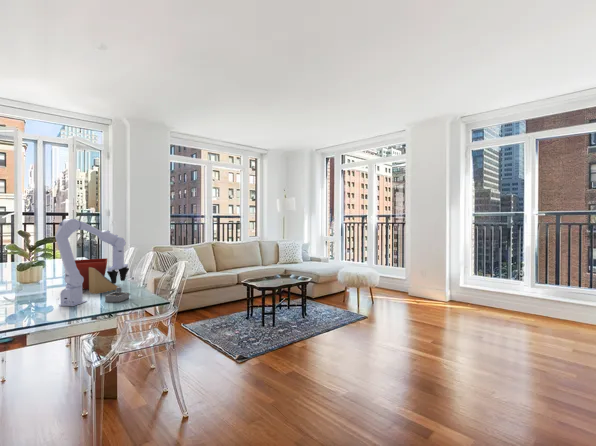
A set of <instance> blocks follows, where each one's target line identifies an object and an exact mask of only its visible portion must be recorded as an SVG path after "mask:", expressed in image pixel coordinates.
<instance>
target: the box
mask: <svg viewBox="0 0 596 446" xmlns="http://www.w3.org/2000/svg"><path fill="white" fill-rule="evenodd" d="M129 292H130V291H129ZM129 292H128V291H122V292H116V291H113V292H111V293H108V294H106V295H104V301H105V302H104V303H118V304H119V303H121V302H125V301H127V300H129V299H130V294H129Z"/></svg>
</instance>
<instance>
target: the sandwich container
mask: <svg viewBox="0 0 596 446" xmlns="http://www.w3.org/2000/svg"><path fill="white" fill-rule="evenodd" d="M117 287H119V286H118V285H116V283H115V284H112V282H111V279H110V278H108V277H106V275H105V276H103V275H102V274H101V273H100V272H98V271H97V270H96V269H95V268H91V267H89V289H88V290H89V291H88V293H90V294H94V295H95V294H96V295H97V294H102V293H108V292H107V291H109V292H112V291H111V290H115V291H116V288H117Z"/></svg>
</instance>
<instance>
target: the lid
mask: <svg viewBox="0 0 596 446" xmlns="http://www.w3.org/2000/svg"><path fill="white" fill-rule="evenodd" d="M115 292H123V290H122V287H121V286H118V287H117V288H116V290H115ZM131 293H132V292H130V291H129V295H131Z"/></svg>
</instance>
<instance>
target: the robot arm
mask: <svg viewBox="0 0 596 446" xmlns="http://www.w3.org/2000/svg"><path fill="white" fill-rule="evenodd" d="M78 230H79V231H85V232H87V233H90V234H92V235H94V236H96V237H98V240H100V241H102V242H104V243H106V244H108V245H110V246H111V247H112V251H111V252H112V266H110V267H107V271H106V274H107V275H108V276H109V280H110V281H111V282H112V284H115V285H116V283H117V277H118V273H119V279H120V281H121V282H125V280H126V276H127V274H128V272H129V269H130V268H129V264H128V263H125V245H126V244H127V242H126V240H125V239H124V238H123V237H120V236H119V235H118V234H114V233H112V232H111V231H110V230H109V229H108V230H106V229H105V230H104V229H103V230H100V229H98V228H96V227H94V226H93V225H90V224H88V223H86V222H84V221H81V220H78V219H76V218H64V219H63V220H61V222H60V223H58V228H57V231H56V233H55V236H54V238H55V241H56V244H57V248H58V251H59V253H60V258H61V261H62V263H63V267H64V282H65V284H66V285H65V288H64V289H62V290H61V291H60V295H59V296H60V298H59V299H60V304H58V306H60V307H75V306H78V305H80V304H83V303H86V302H87V300H86V299H83V297H84V295H83V294H84V293H83V290H84V289H82V283H83V281H84V278H83V276H81V275H80V272H79V270H78V269H77V267H76V263H75V260H76V259H75V258H74V254H73V250H72V247H71V244H70V241H69V238H70V237H71V236H72V234H74V233H75V232H76V231H78Z"/></svg>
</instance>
